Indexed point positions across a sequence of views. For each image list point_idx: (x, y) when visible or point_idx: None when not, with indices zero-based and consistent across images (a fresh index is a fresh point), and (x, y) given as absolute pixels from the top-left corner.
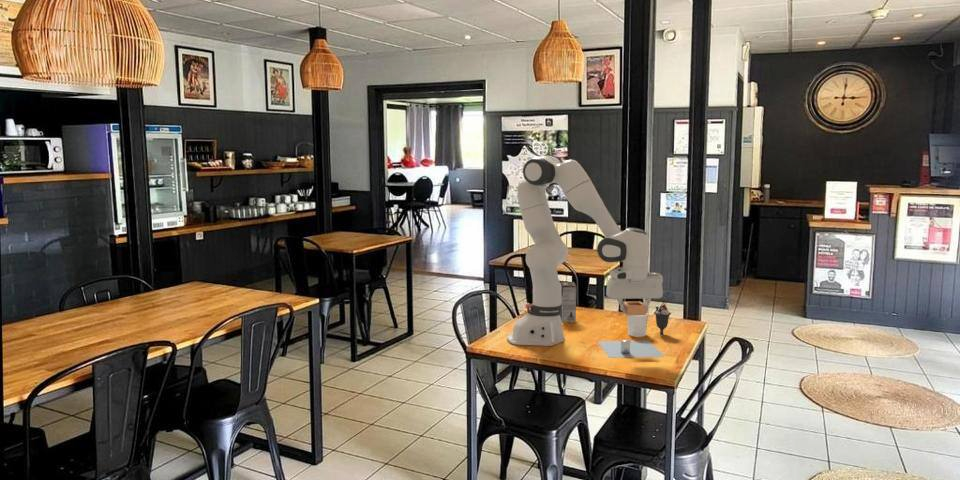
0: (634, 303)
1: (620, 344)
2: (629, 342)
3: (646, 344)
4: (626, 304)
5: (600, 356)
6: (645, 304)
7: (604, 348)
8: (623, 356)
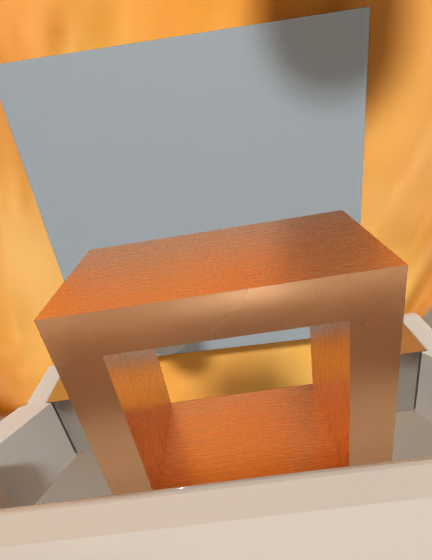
0: (265, 320)
1: (153, 133)
2: (184, 345)
3: (323, 119)
4: (113, 473)
5: (52, 285)
6: (429, 381)
7: (57, 229)
8: None
